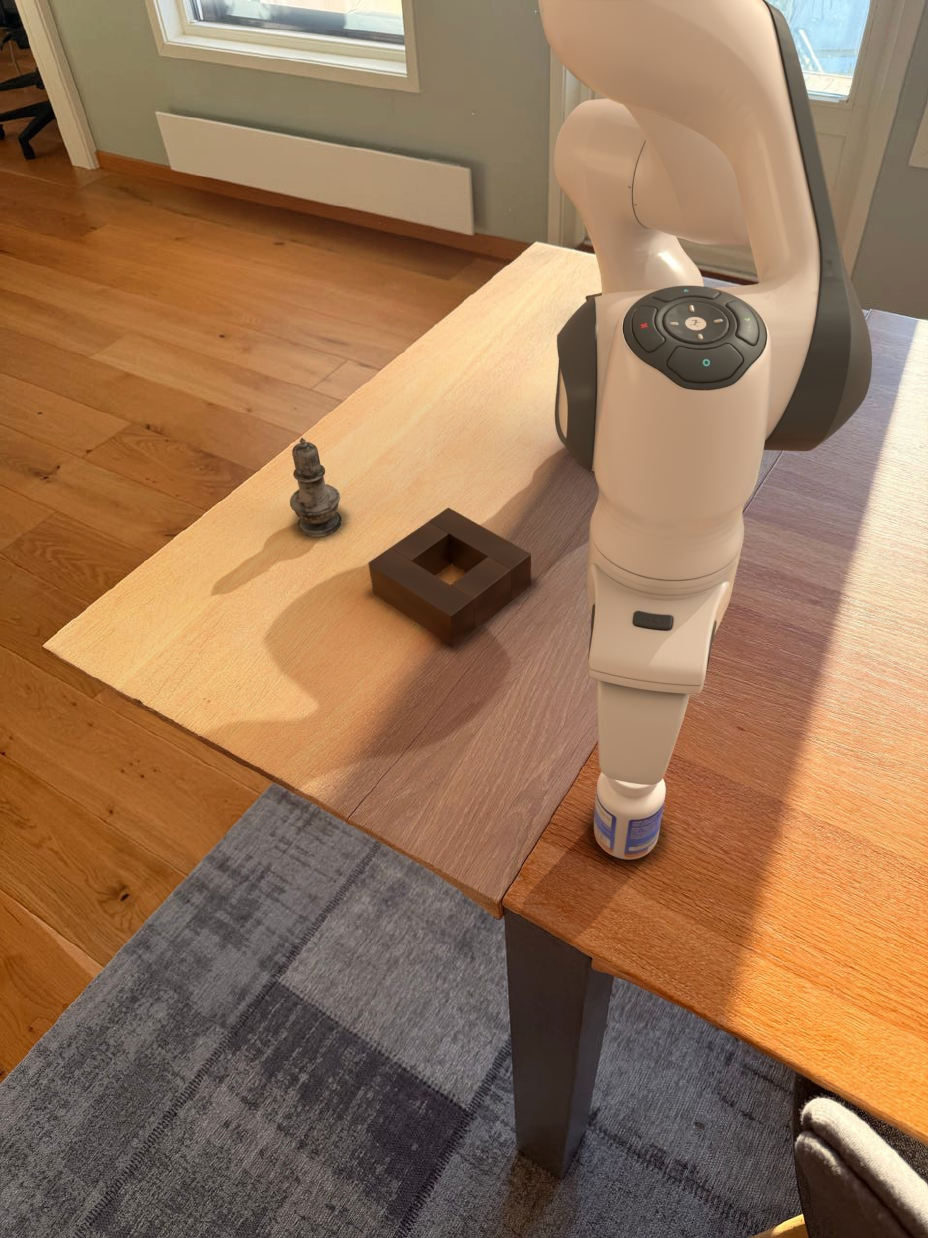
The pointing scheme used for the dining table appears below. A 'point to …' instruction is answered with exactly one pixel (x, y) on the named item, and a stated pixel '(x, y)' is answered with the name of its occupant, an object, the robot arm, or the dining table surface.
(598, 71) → the robot arm
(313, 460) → the grey metal finial
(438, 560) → the socket block
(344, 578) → the dining table surface
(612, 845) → the pill bottle
